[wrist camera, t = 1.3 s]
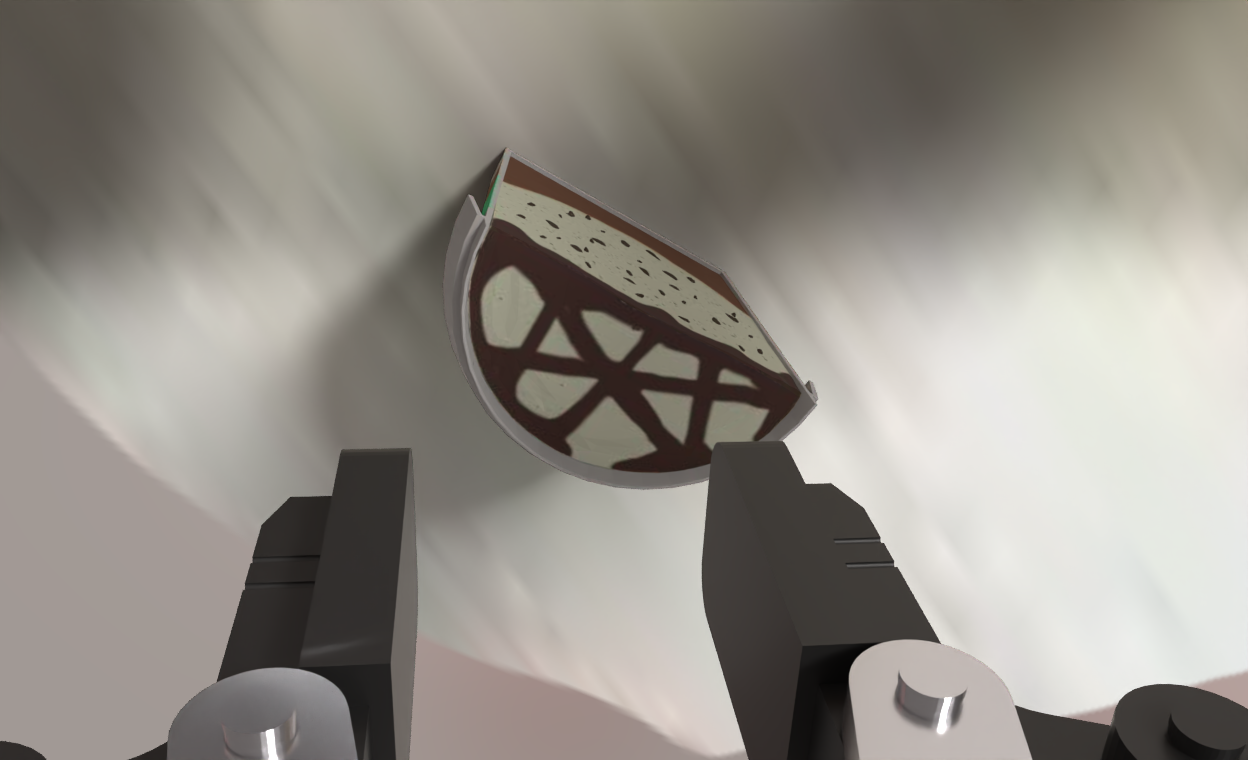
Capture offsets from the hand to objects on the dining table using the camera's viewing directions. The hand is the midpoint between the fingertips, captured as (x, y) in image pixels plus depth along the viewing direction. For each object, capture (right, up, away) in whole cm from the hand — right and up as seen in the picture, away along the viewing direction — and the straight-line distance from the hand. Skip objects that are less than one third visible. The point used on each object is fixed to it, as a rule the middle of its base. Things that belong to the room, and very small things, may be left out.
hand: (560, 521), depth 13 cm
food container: (-1, +5, +30) cm, 31 cm away
